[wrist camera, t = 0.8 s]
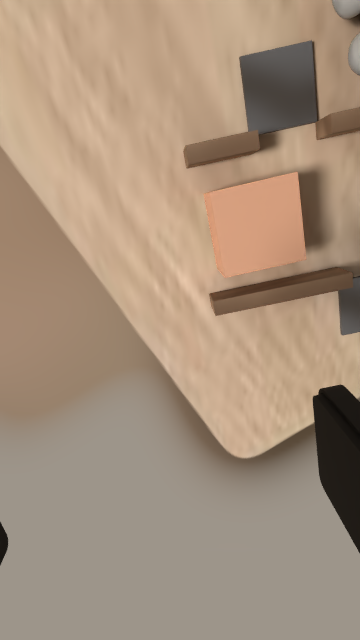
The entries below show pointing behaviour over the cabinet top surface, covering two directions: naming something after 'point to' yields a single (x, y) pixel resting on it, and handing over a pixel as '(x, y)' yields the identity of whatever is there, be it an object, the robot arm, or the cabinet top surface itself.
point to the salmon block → (256, 225)
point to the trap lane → (262, 117)
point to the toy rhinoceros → (349, 5)
